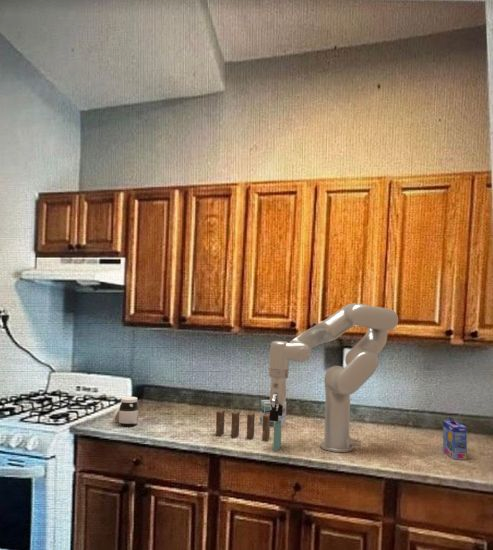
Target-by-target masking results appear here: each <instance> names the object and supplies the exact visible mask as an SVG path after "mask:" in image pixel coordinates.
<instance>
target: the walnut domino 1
mask: <svg viewBox="0 0 493 550" xmlns="http://www.w3.org/2000/svg"><path fill="white" fill-rule="evenodd" d="M225 411H226V410H225V409H224V408H223V409H222V408H220V409H219V410H217V411H216V422H215V423H216V424H215V437H222V436H223V435H224V434H225V414H226V412H225Z"/></svg>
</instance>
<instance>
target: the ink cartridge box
mask: <svg viewBox="0 0 493 550" xmlns="http://www.w3.org/2000/svg"><path fill="white" fill-rule="evenodd" d="M448 417H449V420H443V421H442V427H443V428H442V451H443V453H444V452H445V455H447V456H448V457H450V459H452V460H466V461H467V460H468V446H467V445H468V443H467V440H468V433H467V430H468V429H467V426H466V425H464V424H461V423H460V422H459V421H457V420H455V419H454V418H453V417H451V416H448Z"/></svg>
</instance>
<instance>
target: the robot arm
mask: <svg viewBox="0 0 493 550" xmlns="http://www.w3.org/2000/svg"><path fill="white" fill-rule="evenodd" d="M398 324H399V316H398V314H397V312H396V311H394V310H393V309H391V308H386V307H380V306H372V305H367V304H364V303H355V302H352V303H348V304H346V305H344V306H343V307H341V308H339V309H338V310H337V311H336V312H334V313H332V314H331V315H330V316H328V317H326V318H325V319H324V320H322V321H320V322H319V323H317V324H315V325H313V326H312V327H310V328H308V329H306V330H305V331H303V332H301V333H300V334H298V335H297V336H296V337H294V338H293V339H291V340H290V341H289V342H288V341H283V340H273V341H271V343H270V348H269V349H270V350H269V351H270V353H269V364H268V365H269V370H268V377H269V378H271V380H270V390H269V391H270V392H269V400H270V403H271V408H270V419H269V420H270V421H276V422H277V421H278V416H282V411H283V406H282V405H283V403H284V402H287V401H286V399H287V379H289V374H290V372H289V371H290V361H291V362H292V361H293V362H296V363H297V362H298V363H304V362H307V361H308V360H309V359H310V358H311V356H312V349H313V348H315V347H317V346H319V345H321V344H325V343H329V342H332V341H335V340H336V339H338V338H339V337H341V336H342V335H343V334H345V333H346V332H348V331H349V330H350V329H352V328H353V327H354V326H356V327H357V326H358V327H362V328H367V330H366V333H365V335H363V337H362V338H361V339H360V340H359V341H358V342H356V344H355V345H354V346H353V347H352V348H351V349H350V350H349V351H348V352H347V353H346V355H345V358H344V359H345V364H346V366H340V365H333V366H331V367H329V368H328V369H327V370H326V372H325V374H324V380H323V381H324V389H325V390H324V392H325V395H324V396H325V407H324V440H322V441H321V442H320V444H319V446H320V448H321V449H323V450H326V451H329V452H333V453H348V452H351V451H352V450H354V446H356V447H361V446H362V441H361V440H358V439H356V438H355V439H353V438H351V435H350V425H351V423H350V422H351V421H350V418H351V417H350V416H351V398H350V397H351V395H353V394H354V393H356V392H357V391H358V390H359V389H360V388H361V387H362V386H363V385H365V383H366V382H367V381H368V380H369V379H370V378H371V377H372V376H373V375H374V374H375V372H376V371H377V368H378V364H379V359H378V354H379V353H380V352H381V351H382V349H384V347H385V346H386V344H387V340H388V331H391V330H393V329H395V328H396V327H397V326H398Z"/></svg>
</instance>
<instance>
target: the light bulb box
mask: <svg viewBox="0 0 493 550" xmlns="http://www.w3.org/2000/svg"><path fill="white" fill-rule="evenodd" d="M282 406H283V411H282V416H278V421H281V427H286V424H287V423H286V421H287V420H286V419H287V401H285V402H284V403H283V405H282ZM270 408H271V403H270V399H260V410H259V411H260V416H259V424H261V426H262V427H263V415H264V414H265V413H270ZM275 422H276V421H270V428H271V427H273V428H274V423H275Z"/></svg>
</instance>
